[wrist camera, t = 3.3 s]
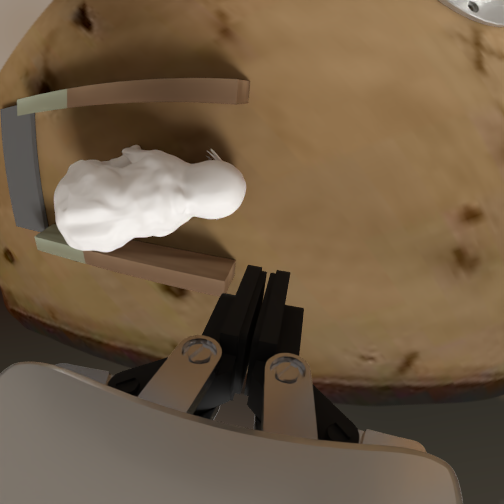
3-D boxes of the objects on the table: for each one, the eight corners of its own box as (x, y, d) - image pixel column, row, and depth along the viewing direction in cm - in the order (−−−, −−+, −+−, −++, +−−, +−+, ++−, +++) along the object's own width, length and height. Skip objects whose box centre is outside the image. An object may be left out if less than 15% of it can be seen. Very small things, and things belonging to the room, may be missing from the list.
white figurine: (30, 178, 14) (224, 155, 13) (101, 147, 22) (249, 131, 20) (57, 270, 17) (234, 279, 16) (115, 218, 25) (253, 215, 23)
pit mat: (4, 108, 21) (0, 109, 21) (34, 101, 21) (30, 102, 20) (19, 223, 29) (16, 226, 28) (49, 230, 28) (45, 233, 27)
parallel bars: (40, 95, 20) (16, 99, 18) (249, 81, 18) (238, 79, 15) (55, 236, 28) (37, 249, 25) (234, 275, 25) (224, 297, 23)
